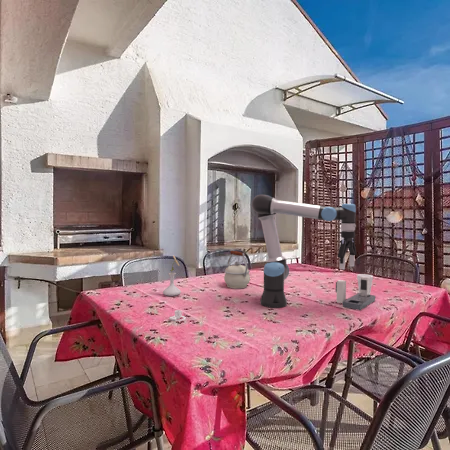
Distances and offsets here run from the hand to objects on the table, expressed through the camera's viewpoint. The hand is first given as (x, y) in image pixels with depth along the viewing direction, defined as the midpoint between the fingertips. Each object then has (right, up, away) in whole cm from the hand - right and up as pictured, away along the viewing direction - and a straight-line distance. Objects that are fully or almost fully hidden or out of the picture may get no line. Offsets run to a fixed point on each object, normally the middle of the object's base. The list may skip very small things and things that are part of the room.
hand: (347, 267), depth 193 cm
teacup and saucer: (-97, -23, -23) cm, 102 cm away
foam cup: (+20, -21, +23) cm, 37 cm away
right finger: (-1, -22, +7) cm, 22 cm away
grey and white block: (+9, -22, +4) cm, 24 cm away
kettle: (-62, -19, +47) cm, 81 cm away
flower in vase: (-104, -20, +22) cm, 108 cm away
